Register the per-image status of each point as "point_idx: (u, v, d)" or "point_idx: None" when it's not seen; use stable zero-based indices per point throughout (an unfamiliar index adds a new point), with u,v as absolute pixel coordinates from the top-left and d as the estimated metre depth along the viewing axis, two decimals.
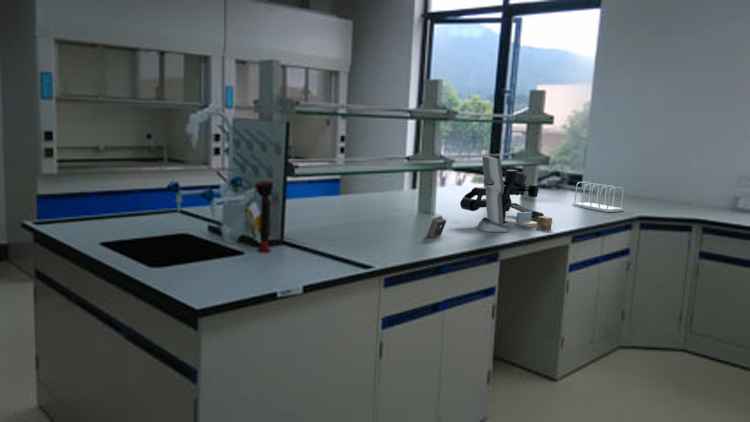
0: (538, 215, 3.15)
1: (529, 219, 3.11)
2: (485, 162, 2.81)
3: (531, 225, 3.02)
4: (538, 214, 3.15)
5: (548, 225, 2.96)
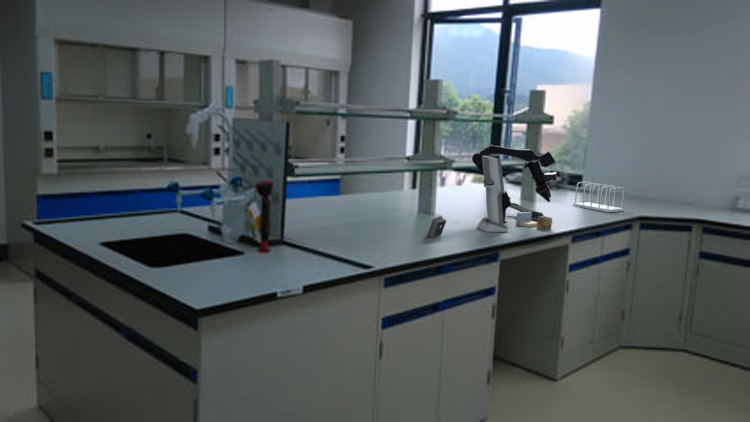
0: (538, 215, 3.15)
1: (529, 219, 3.11)
2: (485, 162, 2.81)
3: (531, 225, 3.02)
4: (538, 214, 3.15)
5: (548, 225, 2.96)
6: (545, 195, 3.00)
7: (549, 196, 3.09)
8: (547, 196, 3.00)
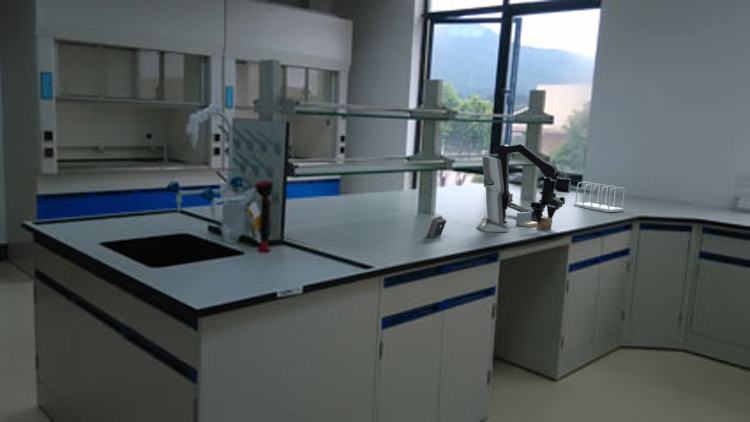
0: None
1: (529, 219, 3.11)
2: (485, 162, 2.81)
3: (531, 225, 3.02)
4: None
5: (548, 225, 2.96)
6: (538, 214, 2.94)
7: None
8: (539, 216, 2.93)
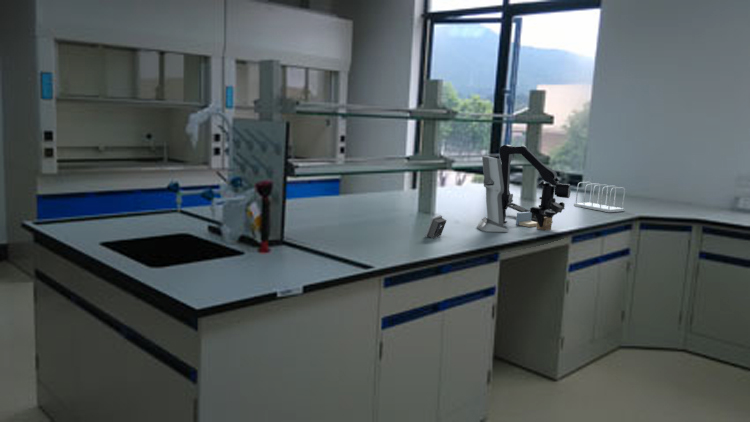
0: None
1: (529, 219, 3.11)
2: (485, 162, 2.81)
3: (531, 225, 3.02)
4: None
5: (548, 225, 2.96)
6: (540, 219, 2.95)
7: None
8: (541, 221, 2.95)
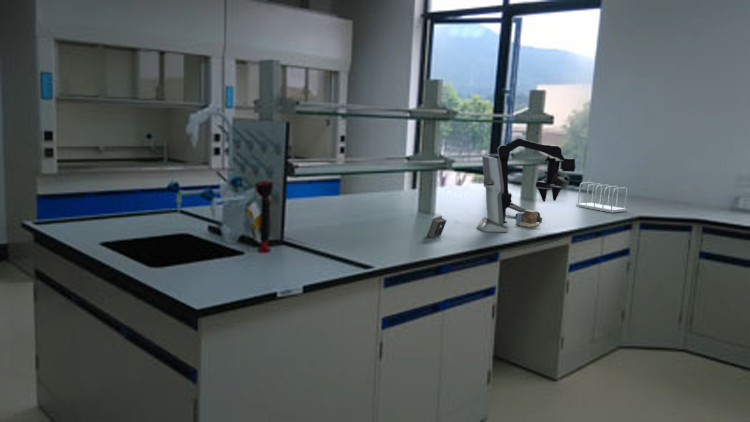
0: None
1: None
2: (485, 162, 2.81)
3: (531, 225, 3.02)
4: None
5: (534, 218, 3.04)
6: (543, 193, 3.00)
7: (554, 199, 3.07)
8: (544, 195, 3.00)
